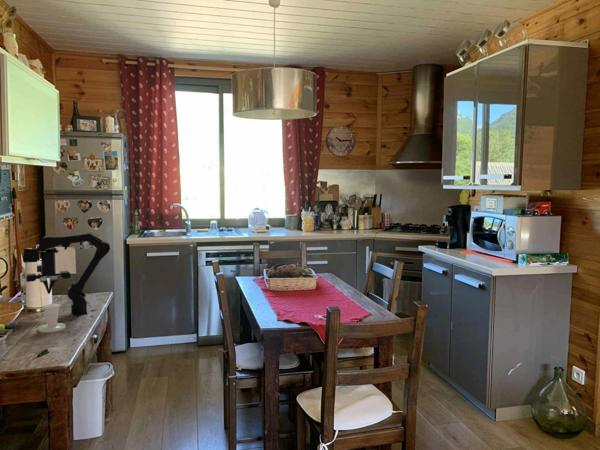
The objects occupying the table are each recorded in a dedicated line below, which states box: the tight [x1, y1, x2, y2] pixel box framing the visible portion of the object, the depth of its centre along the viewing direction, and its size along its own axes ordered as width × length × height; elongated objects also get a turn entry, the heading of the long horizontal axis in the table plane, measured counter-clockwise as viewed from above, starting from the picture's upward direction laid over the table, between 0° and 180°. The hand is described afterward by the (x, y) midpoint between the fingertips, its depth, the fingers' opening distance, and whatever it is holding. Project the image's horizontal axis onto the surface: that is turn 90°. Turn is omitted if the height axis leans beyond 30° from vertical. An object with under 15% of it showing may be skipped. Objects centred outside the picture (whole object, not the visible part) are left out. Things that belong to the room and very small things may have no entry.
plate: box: [37, 322, 67, 334], centre depth 210 cm, size 11×11×1 cm
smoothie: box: [43, 295, 61, 328], centre depth 209 cm, size 6×6×14 cm
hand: (48, 293), depth 228 cm, fingers closed
